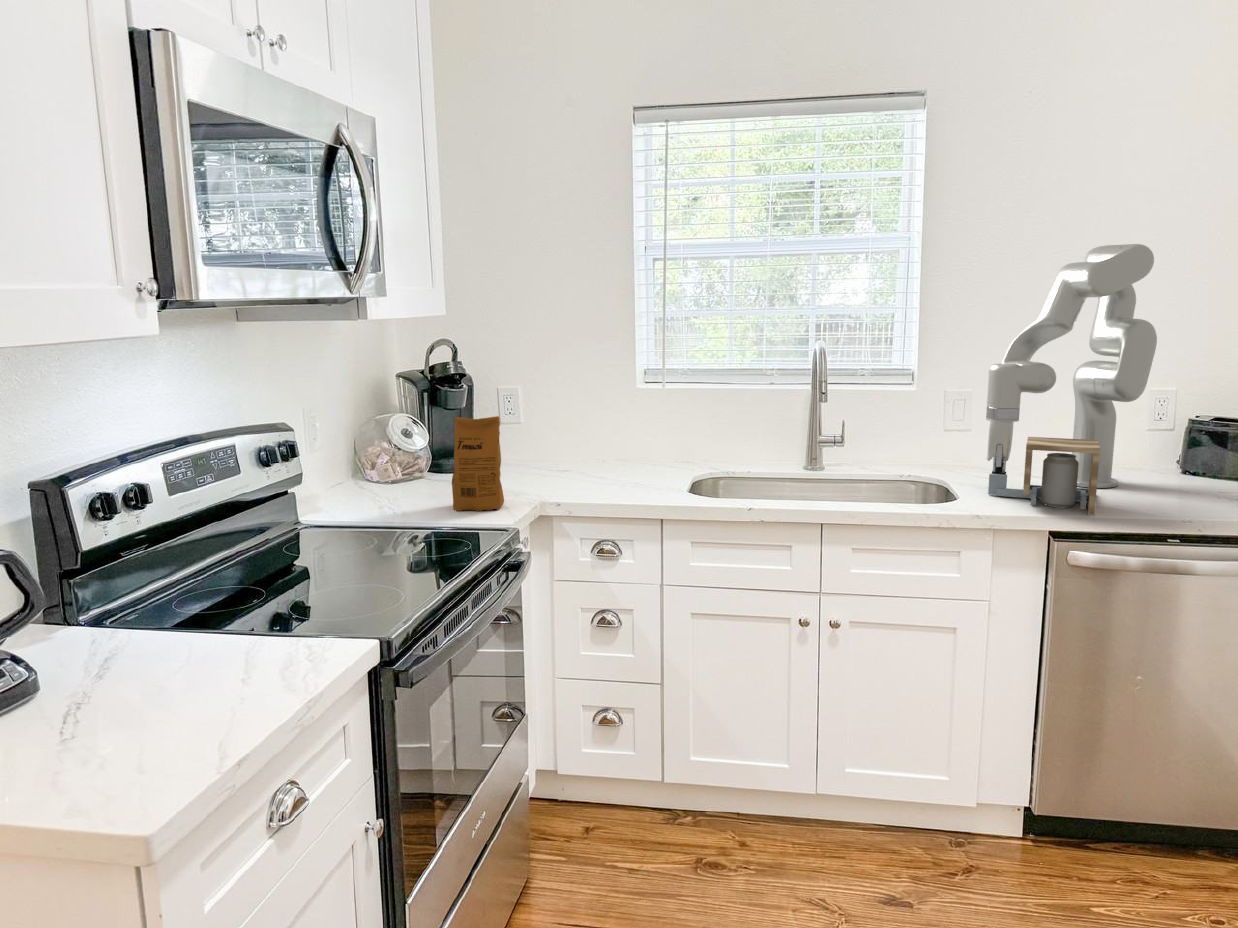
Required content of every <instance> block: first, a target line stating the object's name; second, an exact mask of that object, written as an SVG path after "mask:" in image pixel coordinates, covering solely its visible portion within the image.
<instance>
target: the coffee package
mask: <svg viewBox="0 0 1238 928" xmlns="http://www.w3.org/2000/svg"><path fill="white" fill-rule="evenodd" d="M500 426H501V421H500V416H499V415H497V416H490V417H489V416H488V417H480V418H469V417H468V418H467V417H460V416H459V417H458V416H455V418H454V430H453V431H454V452H453V463H454V465H453V467H454V469H453V473H452V479H451V487H452V489H451V490H452V491H451V492H452V503H453V504H452V508H453V510H454V511H455V510H456V511H455V512H462V511H463V510H464V511H474V510H475V512H483V511H482V510H489V511H494V510H493V509H497V510H500V509H501V508H502V506H503V505H504V503H505V497H504V492H503V491H504V490H503V487H502V483H501V482H502V481H501V465H502V464H501V463H502V452H501V451H502V450H501V443H500V434H501V432H500ZM477 510H478V511H477ZM479 510H480V511H479Z"/></svg>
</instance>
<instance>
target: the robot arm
mask: <svg viewBox="0 0 1238 928" xmlns="http://www.w3.org/2000/svg"><path fill="white" fill-rule="evenodd" d="M1154 263H1155V256H1154V253H1153V251H1152V250H1151V249H1150V247H1148V246H1146V245H1145V244H1141V243H1128V244H1110V245H1107V244H1106V245H1100V246H1096V247H1094V248H1091V249H1090V250H1088V251H1087V253H1086V255H1085V258H1084V261H1081V262H1080V261H1079V262H1078V261H1077V262H1072V263H1067V264H1065V265H1063V266H1062V267H1061V268H1060V269H1059V270H1058V272H1057V273H1056V276H1055V278H1054V280H1053V283H1052V284H1051V286H1050V289H1049V291H1048V294H1047V296H1046V298H1045V301H1044V303H1043V305H1042V307H1041V309H1040V311H1039V314H1038V315H1037V317H1036V318H1035V319H1034V320H1033V321H1032V322H1031V323H1030V324H1029V325H1028V326H1026V327H1025V328H1024V329H1023V331H1021V332H1020V333H1019V334H1018V335H1017V336H1016V337H1015V338H1014V339H1013V340H1012V342H1011V343H1010V344H1009V346H1008V348H1007V350H1006V352H1005V354H1004V356H1003V358H1002V361H1001V363H994V364H992V365H990V367H989V368H988V369H989V370H988V381H987V382H988V383H987V395H986V396H987V397H986V399H987V400H986V414H985V416H986V417H985V420H986V421H989V422H990V423H989V429H988V439H987V440H988V441H987V456H986V460H987V462H990V461H991V460H992V464H993V465H992V471H991V474H1004V475H1007V471H1006V466H1007V462H1008V461H1009V458H1010V456H1011V451H1012V445H1013V443H1012V442H1013V433H1014V423H1015V422H1019V421H1020V413H1021V412H1020V411H1021V410H1020V409H1021V395H1022V393H1028V394H1029V393H1030V394H1044V393H1046V392H1048V391H1050V390H1051V389H1052V388H1053V387H1054V386H1055V384H1056V381H1057V373H1056V371H1055V369H1054V368H1053V367H1052V366H1050V365H1049V364H1046V363H1043V362H1037V361H1031V359H1032V358H1033V356H1034V355H1035V353H1037V351H1038V350H1039V349H1041V348H1042V347H1044V346H1045V345H1047V344H1049V343H1050V342H1052V341H1055V340H1056V339H1058V338H1061V337H1063V336H1065V335H1067V334H1069V333H1070V332H1071V331H1072V330H1073V329H1074V327H1075V324H1076V322H1077V321H1078V318H1079V316H1080V314H1081V311H1082V309H1083V306H1084V304H1085V302H1086V300H1087V299H1088V298H1097V305H1096V310H1095V314H1094V319H1093V322H1092V327H1091V331H1090V335H1089V342H1088V343H1089V348H1090V350H1091V351H1092V352H1093V353H1094V354H1096V355H1099V356H1104V357H1116V358H1118V360H1117V362H1116V361H1109V360H1108V361H1107V360H1089V361H1085V362H1084V363H1081V364H1080V365H1078V367H1077V368H1076V369H1075V371H1074V374H1073V377H1072V387H1073V394H1074V395H1073V396H1074V404H1075V405H1074V421H1073V435H1072V439H1085V440H1098V442H1099V446H1100V454H1099V466H1098V479H1097V489H1107V488H1115V487H1117V486H1118V484H1119V483H1118V482H1119V481H1118V479H1116V478H1112V475H1113V462H1114V451H1115V450H1114V449H1115V439H1116V438H1115V437H1116V425H1117V412H1116V406H1115V404H1114V402H1122V403H1130V402H1134V401H1136V400H1138V399H1139V398H1140V397H1141V396H1142V394H1143V393H1144V391H1145V389H1146V387H1147V384H1148V380H1149V377H1150V373H1151V369H1152V367H1153V366H1152V365H1153V362H1154V358H1155V354H1156V349H1157V345H1158V339H1157V338H1158V337H1157V331H1156V328H1155V327H1154V325H1153V324H1152V323H1151V322H1149V321H1148V320H1145V319H1142V318H1134V315H1135V310H1136V305H1137V294H1136V290H1135V288H1134V286H1133V284H1135V283H1137V282H1139V281H1141V280H1143V279H1144V278H1146V277H1147V276H1148V275H1149V273H1150V272H1151V271H1152V269H1153V267H1154ZM1071 454H1073V455H1076V458H1075V459H1076V460H1077V461H1078V462H1079V468H1078V481H1077V487H1079V488H1080V487H1081V488H1088V486H1089V474H1090V461H1091V453H1079V452H1071Z"/></svg>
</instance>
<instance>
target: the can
mask: <svg viewBox="0 0 1238 928" xmlns="http://www.w3.org/2000/svg"><path fill="white" fill-rule="evenodd" d="M1046 456H1047V457H1046V458H1045V459H1043V463H1042V477H1041V486H1042V488H1041V498H1040V501H1041V502H1042V504H1043V505H1045V504H1046V505H1045V506H1047V505H1048V507H1051V506H1052V507H1051V508H1053V507H1054V508H1061V507H1065V508H1070V507H1072V506H1073V505H1075V504H1076V502H1077V501H1076V493H1077V488H1078V486H1077V481H1078V468H1079V462H1078V461H1077V460H1076V459H1075V458H1076V455H1073V454H1072V453H1068V452H1050V453H1047V454H1046Z"/></svg>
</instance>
